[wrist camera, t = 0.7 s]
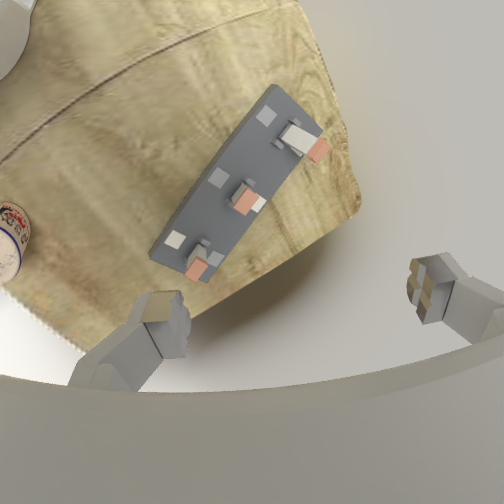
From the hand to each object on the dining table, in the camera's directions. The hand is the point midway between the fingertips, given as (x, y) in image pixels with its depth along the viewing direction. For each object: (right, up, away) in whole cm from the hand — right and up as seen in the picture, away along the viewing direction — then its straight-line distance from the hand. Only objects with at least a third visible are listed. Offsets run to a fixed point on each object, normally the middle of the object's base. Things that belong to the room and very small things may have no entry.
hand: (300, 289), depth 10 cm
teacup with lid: (-40, +6, +25) cm, 48 cm away
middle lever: (-3, +11, +37) cm, 39 cm away
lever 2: (+4, +20, +35) cm, 40 cm away
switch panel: (-5, +12, +40) cm, 42 cm away
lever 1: (-11, +1, +40) cm, 41 cm away
